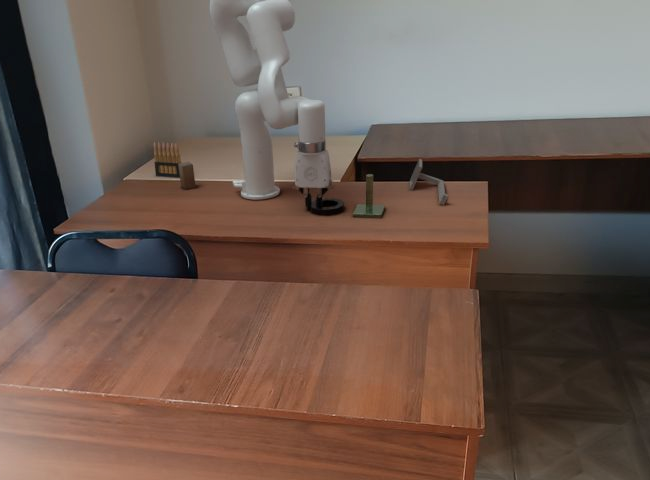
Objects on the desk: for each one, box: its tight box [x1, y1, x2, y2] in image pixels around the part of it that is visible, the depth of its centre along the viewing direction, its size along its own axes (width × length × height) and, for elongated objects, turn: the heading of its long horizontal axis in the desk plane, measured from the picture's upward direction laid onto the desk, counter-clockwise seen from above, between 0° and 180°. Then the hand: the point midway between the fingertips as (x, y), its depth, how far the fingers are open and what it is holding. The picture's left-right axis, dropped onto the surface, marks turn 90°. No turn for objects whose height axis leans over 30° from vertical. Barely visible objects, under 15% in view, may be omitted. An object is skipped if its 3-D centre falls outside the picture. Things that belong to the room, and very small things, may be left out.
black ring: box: [309, 197, 346, 217], centre depth 197 cm, size 10×10×2 cm
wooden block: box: [178, 161, 196, 190], centre depth 224 cm, size 4×4×8 cm
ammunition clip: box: [153, 141, 183, 179], centre depth 236 cm, size 11×2×12 cm, turn 66°
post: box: [352, 173, 386, 219], centre depth 190 cm, size 8×8×11 cm
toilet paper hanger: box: [409, 158, 449, 206], centre depth 203 cm, size 23×9×8 cm, turn 168°
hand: (314, 208), depth 198 cm, fingers closed on black ring, 2 cm apart
